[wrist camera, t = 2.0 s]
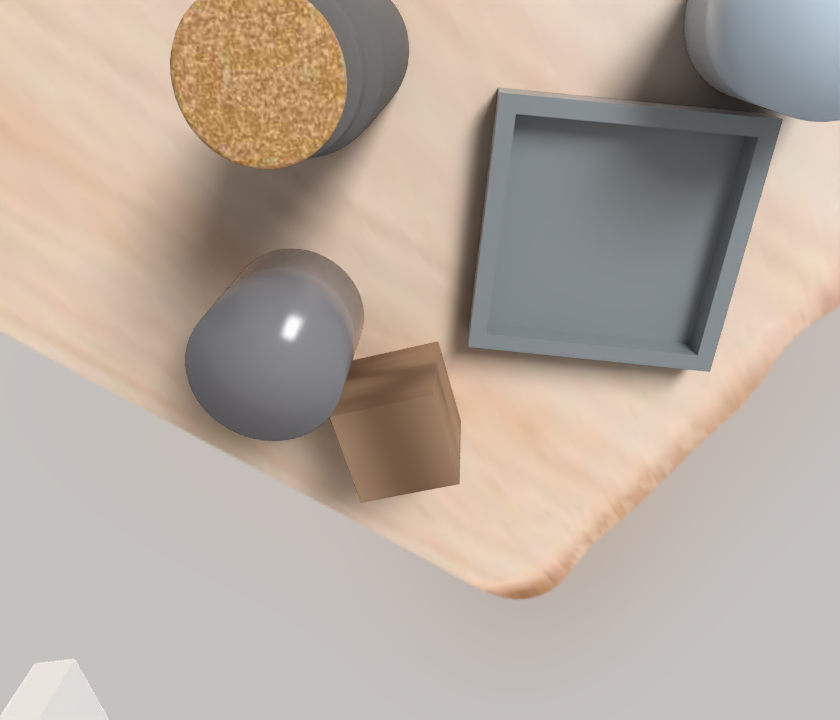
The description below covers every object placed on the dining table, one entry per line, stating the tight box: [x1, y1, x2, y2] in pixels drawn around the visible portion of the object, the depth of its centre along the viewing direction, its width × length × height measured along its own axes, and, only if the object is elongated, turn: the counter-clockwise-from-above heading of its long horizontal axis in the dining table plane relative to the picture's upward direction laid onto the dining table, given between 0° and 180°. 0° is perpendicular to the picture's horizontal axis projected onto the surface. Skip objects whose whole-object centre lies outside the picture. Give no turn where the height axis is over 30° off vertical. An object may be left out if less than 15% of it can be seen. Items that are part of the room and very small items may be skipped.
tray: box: [468, 88, 782, 372], centre depth 35 cm, size 12×12×2 cm
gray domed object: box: [185, 249, 364, 441], centre depth 35 cm, size 7×7×7 cm
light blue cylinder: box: [684, 0, 840, 122], centre depth 28 cm, size 7×7×7 cm
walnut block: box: [329, 342, 461, 502], centre depth 37 cm, size 5×5×6 cm
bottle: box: [170, 0, 409, 169], centre depth 26 cm, size 6×6×15 cm
